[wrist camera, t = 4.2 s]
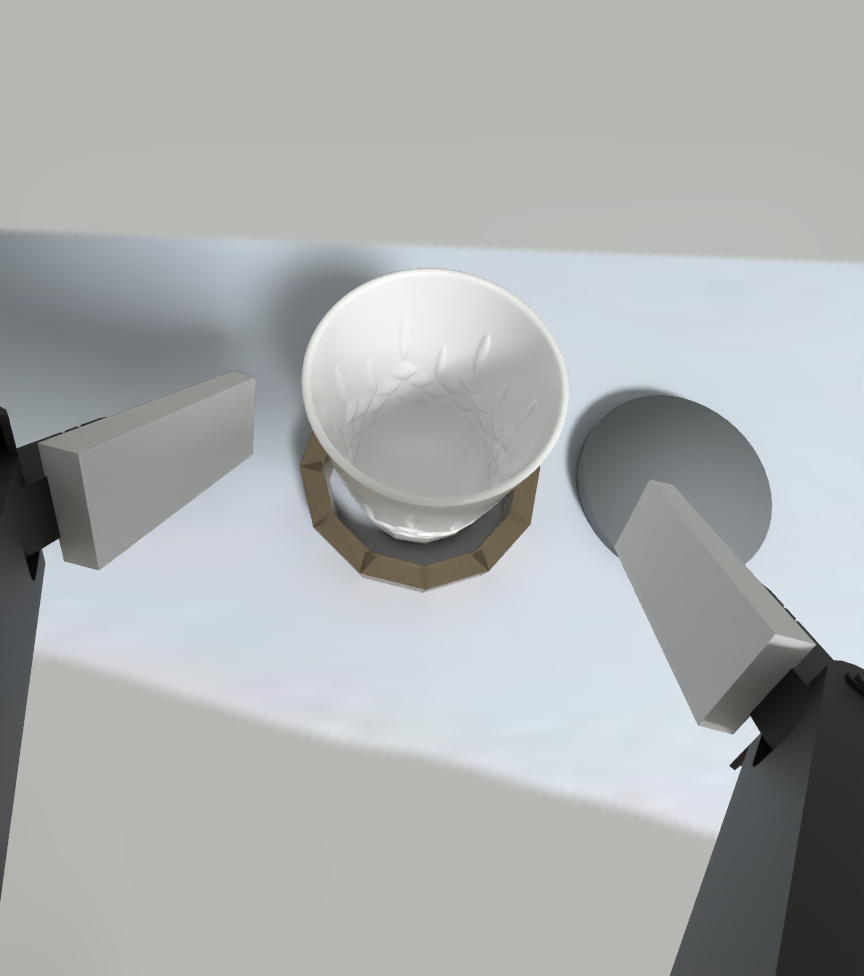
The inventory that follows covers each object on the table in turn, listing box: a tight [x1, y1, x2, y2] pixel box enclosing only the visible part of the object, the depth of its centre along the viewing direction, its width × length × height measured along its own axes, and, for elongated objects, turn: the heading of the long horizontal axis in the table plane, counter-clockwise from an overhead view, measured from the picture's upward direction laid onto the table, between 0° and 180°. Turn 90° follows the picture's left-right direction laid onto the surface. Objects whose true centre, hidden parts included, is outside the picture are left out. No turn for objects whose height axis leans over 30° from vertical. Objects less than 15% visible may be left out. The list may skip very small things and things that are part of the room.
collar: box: [300, 431, 540, 593], centre depth 21 cm, size 11×11×2 cm
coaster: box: [577, 395, 772, 565], centre depth 22 cm, size 10×10×1 cm
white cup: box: [301, 268, 569, 544], centre depth 17 cm, size 8×8×10 cm
